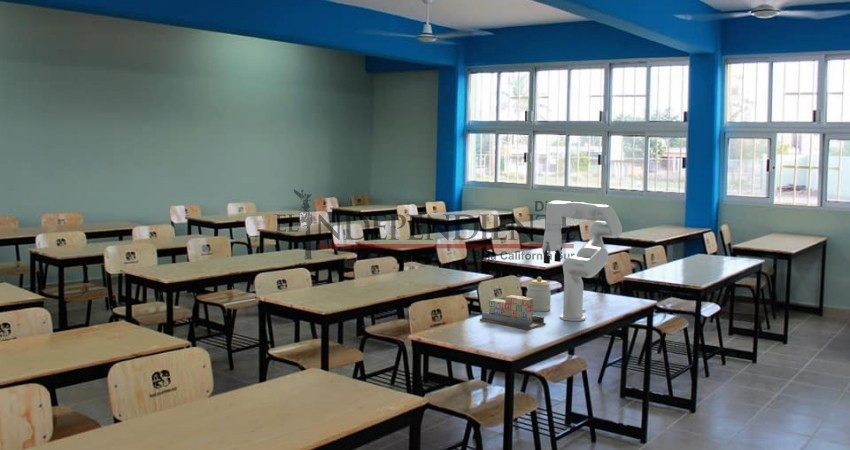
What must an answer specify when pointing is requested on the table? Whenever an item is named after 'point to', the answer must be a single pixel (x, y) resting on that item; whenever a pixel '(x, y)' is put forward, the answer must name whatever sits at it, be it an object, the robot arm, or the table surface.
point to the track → (513, 321)
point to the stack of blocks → (513, 307)
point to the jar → (539, 294)
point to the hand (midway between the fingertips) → (552, 262)
